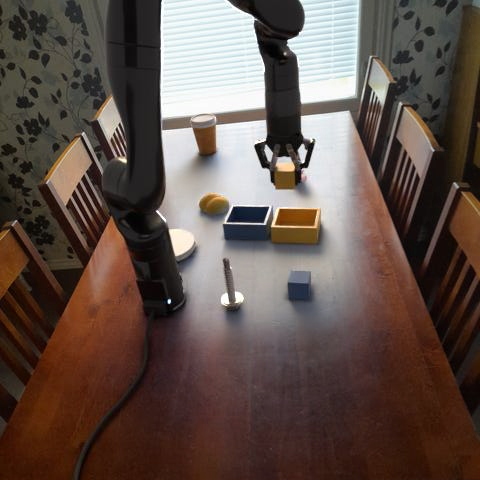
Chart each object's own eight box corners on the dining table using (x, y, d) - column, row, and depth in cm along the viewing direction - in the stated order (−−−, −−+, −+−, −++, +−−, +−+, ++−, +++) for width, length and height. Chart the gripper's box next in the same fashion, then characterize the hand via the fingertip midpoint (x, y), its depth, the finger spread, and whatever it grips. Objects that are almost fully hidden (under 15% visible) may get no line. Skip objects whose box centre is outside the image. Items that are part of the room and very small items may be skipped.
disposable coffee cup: (191, 150, 169) (185, 117, 161) (214, 143, 172) (210, 110, 164) (200, 158, 163) (194, 124, 155) (224, 151, 165) (220, 117, 157)
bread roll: (214, 218, 130) (212, 206, 127) (195, 209, 135) (193, 197, 133) (235, 207, 133) (234, 195, 131) (217, 198, 139) (215, 186, 136)
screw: (222, 300, 102) (243, 298, 102) (222, 314, 99) (244, 312, 98) (213, 252, 93) (237, 249, 93) (213, 265, 90) (237, 263, 90)
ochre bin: (316, 243, 115) (317, 228, 112) (271, 242, 118) (270, 227, 115) (320, 222, 122) (320, 207, 119) (278, 221, 125) (277, 207, 122)
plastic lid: (139, 246, 123) (136, 238, 121) (188, 232, 126) (186, 224, 124) (150, 273, 113) (147, 264, 111) (203, 257, 116) (201, 248, 114)
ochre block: (294, 189, 105) (293, 171, 102) (275, 189, 106) (274, 171, 103) (297, 180, 109) (296, 162, 106) (278, 180, 110) (277, 162, 107)
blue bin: (267, 239, 119) (266, 224, 116) (224, 238, 121) (222, 223, 118) (273, 220, 126) (272, 205, 123) (233, 219, 128) (231, 204, 125)
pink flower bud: (282, 177, 148) (292, 189, 135) (280, 158, 145) (291, 169, 132) (301, 173, 148) (313, 186, 135) (299, 155, 145) (312, 166, 132)
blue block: (308, 299, 99) (308, 283, 96) (288, 298, 100) (287, 282, 97) (311, 287, 102) (311, 270, 99) (291, 286, 103) (290, 270, 100)
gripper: (246, 116, 95) (253, 191, 106) (315, 113, 92) (315, 191, 103) (253, 104, 100) (259, 177, 112) (318, 101, 97) (318, 176, 108)
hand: (286, 183), depth 107 cm, fingers closed on ochre block, 4 cm apart
